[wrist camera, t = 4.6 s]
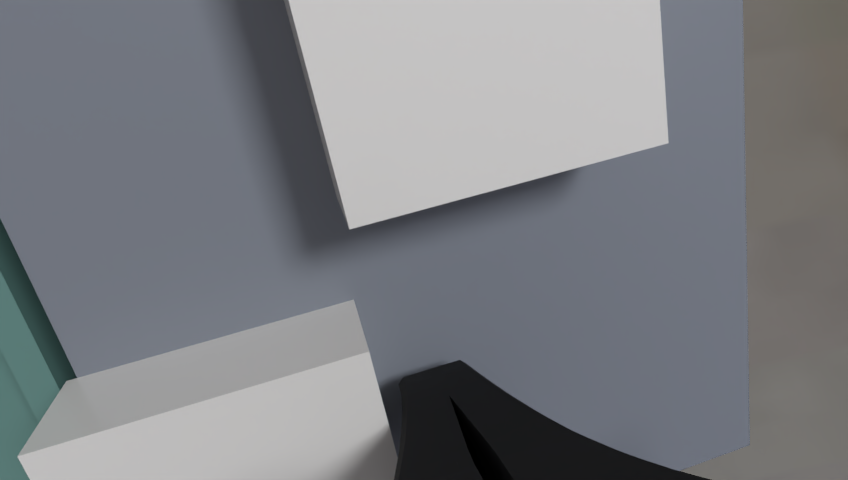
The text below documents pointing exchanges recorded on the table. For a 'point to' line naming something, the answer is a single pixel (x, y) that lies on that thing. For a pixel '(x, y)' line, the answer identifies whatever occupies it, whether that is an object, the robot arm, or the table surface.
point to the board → (382, 241)
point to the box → (24, 360)
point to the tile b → (474, 93)
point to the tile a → (227, 411)
